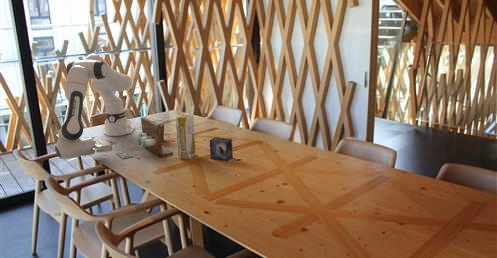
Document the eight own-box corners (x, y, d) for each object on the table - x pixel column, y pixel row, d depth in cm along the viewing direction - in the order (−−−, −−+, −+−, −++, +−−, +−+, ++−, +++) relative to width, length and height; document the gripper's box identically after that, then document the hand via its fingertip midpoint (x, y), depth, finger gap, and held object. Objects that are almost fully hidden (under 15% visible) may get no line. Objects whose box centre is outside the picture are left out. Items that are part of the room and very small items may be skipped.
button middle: (140, 145, 229) (139, 138, 228) (137, 144, 233) (136, 136, 231) (153, 143, 233) (152, 135, 232) (150, 141, 237) (149, 133, 236)
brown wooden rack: (159, 157, 227) (156, 125, 222) (143, 147, 245) (140, 117, 240) (173, 154, 231) (170, 123, 226) (156, 145, 250) (154, 115, 245)
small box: (209, 158, 223) (208, 139, 220) (216, 155, 229) (215, 136, 226) (227, 161, 218) (226, 142, 215) (233, 157, 224) (232, 138, 221)
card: (122, 159, 226) (122, 157, 226) (115, 153, 236) (115, 152, 236) (133, 156, 230) (133, 155, 229) (126, 151, 239) (125, 150, 239)
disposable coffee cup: (168, 138, 262) (166, 120, 258) (163, 143, 252) (162, 124, 249) (153, 138, 263) (151, 120, 259) (148, 143, 253) (146, 124, 250)
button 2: (144, 149, 224) (144, 141, 222) (141, 147, 227) (141, 139, 226) (158, 146, 228) (157, 138, 227) (155, 144, 231) (154, 136, 230)
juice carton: (191, 159, 222) (188, 115, 216) (177, 159, 224) (173, 115, 217) (197, 154, 231) (194, 111, 224) (183, 153, 232) (180, 111, 226)
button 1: (141, 141, 237) (141, 134, 235) (139, 140, 240) (138, 132, 239) (154, 139, 241) (154, 131, 240) (151, 137, 244) (151, 130, 243)
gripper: (93, 145, 213) (120, 140, 221) (83, 136, 230) (108, 132, 237) (95, 157, 215) (122, 151, 222) (85, 147, 231) (110, 143, 239)
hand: (115, 141), depth 230 cm, fingers closed
